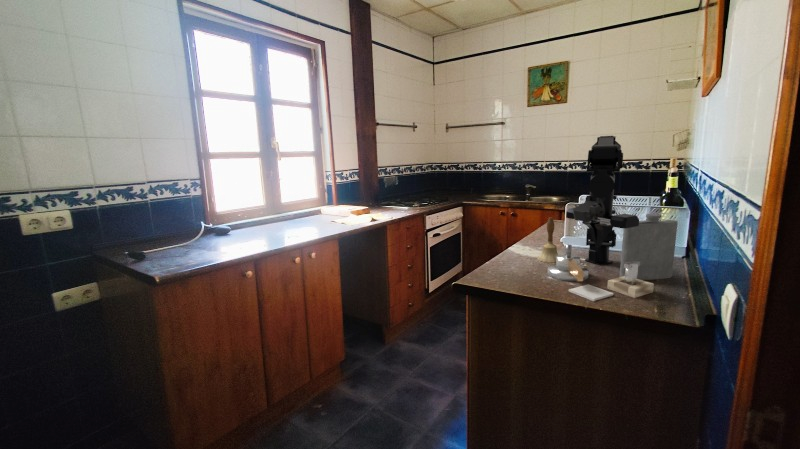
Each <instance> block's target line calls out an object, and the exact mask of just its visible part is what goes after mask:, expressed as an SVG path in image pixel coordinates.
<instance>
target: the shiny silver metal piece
mask: <svg viewBox="0 0 800 449" xmlns="http://www.w3.org/2000/svg"><path fill="white" fill-rule="evenodd" d="M638 266H640V262H638V261H633V262H626V263H625V264H624V268H625V278H624V283H626V284H629V285H632V286H634V285H637V274H638Z"/></svg>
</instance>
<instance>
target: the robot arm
mask: <svg viewBox="0 0 800 449" xmlns="http://www.w3.org/2000/svg"><path fill="white" fill-rule="evenodd" d="M616 137H617V136H614V135H600V136H598V137H596V138H597V140H596V142H595V143H594V144H593V145H592V146H591V149H588V153H587V164H586V173H591V175H590V180H589V183H588V190H589V194H588V195H586V197H585V201H584V202H582V203H580V204H578V205H576V206H575V207H569V208H567V210H566V213H565V218H566V219H570V220H575V221H581V223H582V224H583V225H585V226H586V227H587V229H586V239H585V241H586V242H585V246H589V248H588V258H584V261H585V262H589V263H592V264H595V265H600V266H602V265H608V264H611V263H613V260H611V259H610V248H614V247H616V244H617V234H616V232H615V229H613V228H618V229H623V228H625V229H626V228H631V227H636V226H639V221H640V219H639V217H638V215H635V214H631V213H630V214H628V213H622V214H621V213H620V214H616V209H613V206H614V205H613V204H614V200H617V197H618V196H617V195H615V194H614V193H615V184H616V182H615V180H616V175H615V173H614V172H617V173H619V172H620V169H623V166H624V153H623V152H622V145H621V144H620V143H619V142H618V141H617V140H616Z"/></svg>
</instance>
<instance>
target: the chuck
mask: <svg viewBox="0 0 800 449" xmlns="http://www.w3.org/2000/svg"><path fill="white" fill-rule="evenodd" d="M555 264H556V268H557V269H559V270H562V271H569V272H571V274H572V275H573V276H574V277H575V279H576V280H577V281H576V282H583V281H584V280H583V273H584V271H583V270H582V269H581V268H580V266H581V257H580V256H579V255H577V254H572V244H568V243H567V244H566V245H565V253H561V254H558V255H557V256H556V263H555Z"/></svg>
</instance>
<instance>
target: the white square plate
mask: <svg viewBox="0 0 800 449" xmlns="http://www.w3.org/2000/svg"><path fill="white" fill-rule="evenodd" d="M568 292H569V293H571V294H574V295H577V296H580V297H582V298H584V299H587V300H589V301H591V302H596V301H598V300H602V299H605V298H608V297H609V298H610V297H612V296H614V292H611V291H608V290H605V289H603V288H600V287H596V286H594V285H590V284H589V283H588V284H584V285H581V286H576V287H574V288H568Z"/></svg>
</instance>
